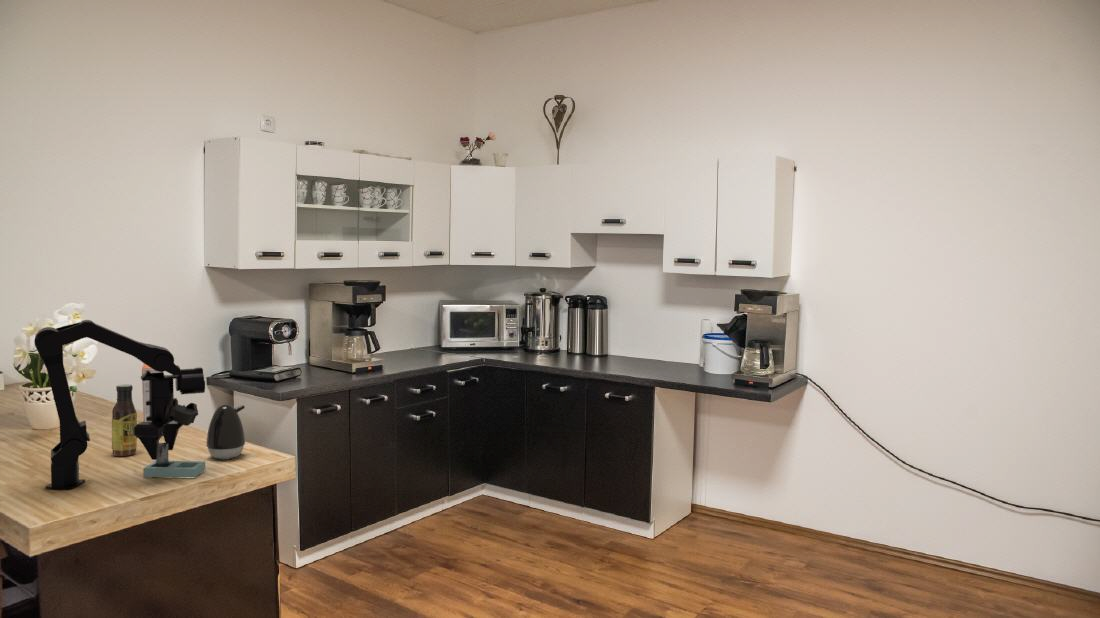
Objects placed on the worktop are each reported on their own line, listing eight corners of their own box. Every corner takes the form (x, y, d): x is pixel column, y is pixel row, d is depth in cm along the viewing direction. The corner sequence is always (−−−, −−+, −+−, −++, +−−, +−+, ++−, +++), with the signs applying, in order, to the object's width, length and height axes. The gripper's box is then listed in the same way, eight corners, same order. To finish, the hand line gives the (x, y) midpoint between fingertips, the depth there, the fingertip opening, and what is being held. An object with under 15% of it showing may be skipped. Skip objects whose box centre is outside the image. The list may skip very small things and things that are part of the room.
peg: (165, 475, 206) (165, 445, 206) (153, 475, 206) (153, 445, 206) (170, 472, 209) (170, 442, 209) (159, 472, 209) (158, 442, 209)
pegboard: (194, 478, 205) (194, 468, 204) (143, 477, 204) (143, 468, 204) (205, 470, 212) (205, 461, 211) (156, 469, 211) (156, 460, 211)
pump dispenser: (251, 458, 225) (251, 405, 223) (213, 464, 218) (213, 409, 217) (238, 450, 232) (238, 399, 231) (201, 456, 226) (200, 403, 224)
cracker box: (144, 423, 262) (143, 360, 260) (164, 422, 265) (163, 360, 263) (142, 433, 249) (141, 367, 248) (163, 431, 252) (162, 366, 250)
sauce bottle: (126, 458, 221) (124, 388, 220) (106, 456, 223) (105, 386, 221) (142, 452, 228) (141, 384, 226) (123, 450, 229) (122, 382, 227)
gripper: (176, 403, 197) (177, 465, 198) (207, 389, 216) (208, 446, 217) (131, 403, 197) (132, 464, 198) (165, 389, 215) (166, 445, 217)
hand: (162, 454), depth 208 cm, fingers open, 9 cm apart
